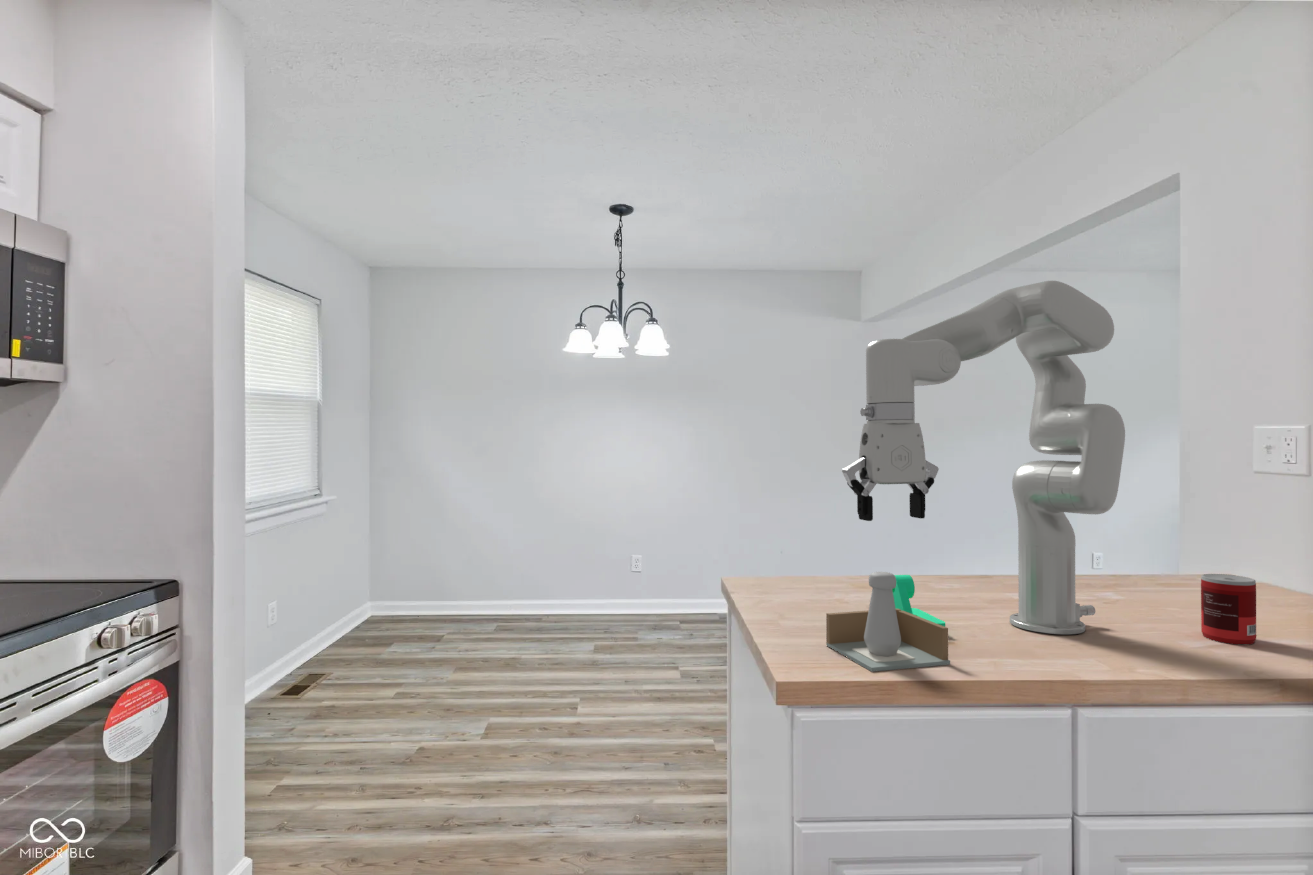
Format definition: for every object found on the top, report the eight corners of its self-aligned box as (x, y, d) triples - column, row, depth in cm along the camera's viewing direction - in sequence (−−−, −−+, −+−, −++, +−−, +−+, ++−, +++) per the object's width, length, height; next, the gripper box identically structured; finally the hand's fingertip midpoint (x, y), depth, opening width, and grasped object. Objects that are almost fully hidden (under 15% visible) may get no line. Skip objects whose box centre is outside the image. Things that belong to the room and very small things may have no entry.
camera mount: (947, 637, 126) (947, 580, 126) (907, 638, 125) (907, 581, 125) (916, 621, 138) (916, 568, 138) (879, 621, 137) (879, 569, 137)
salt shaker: (900, 660, 109) (900, 577, 109) (862, 656, 111) (862, 574, 111) (901, 649, 115) (901, 570, 115) (865, 646, 117) (865, 568, 117)
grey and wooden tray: (897, 640, 123) (897, 608, 123) (950, 664, 110) (950, 628, 110) (826, 645, 120) (826, 613, 120) (871, 671, 106) (871, 634, 106)
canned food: (1247, 635, 127) (1247, 575, 127) (1263, 647, 119) (1263, 583, 120) (1195, 631, 130) (1195, 572, 130) (1208, 642, 123) (1208, 579, 123)
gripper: (855, 414, 109) (857, 523, 109) (950, 414, 113) (951, 519, 113) (831, 416, 116) (833, 518, 116) (921, 415, 121) (922, 514, 121)
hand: (891, 518), depth 115 cm, fingers open, 9 cm apart
